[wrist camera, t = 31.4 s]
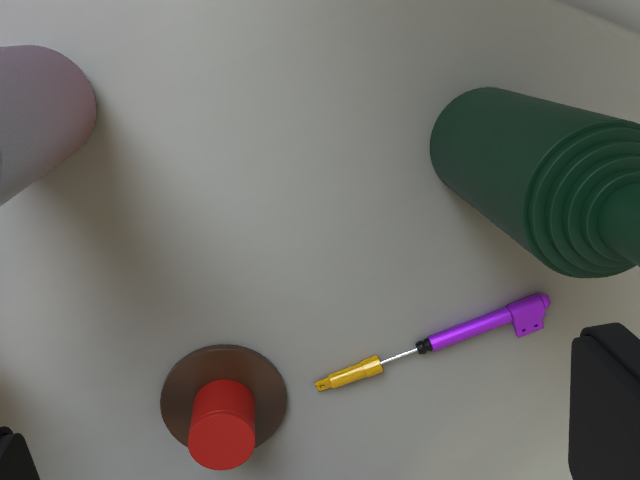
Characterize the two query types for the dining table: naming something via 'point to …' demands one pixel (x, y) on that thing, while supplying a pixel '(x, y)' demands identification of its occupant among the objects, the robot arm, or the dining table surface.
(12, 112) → the beverage can
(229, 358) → the coaster
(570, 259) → the bottle
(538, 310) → the purple tool
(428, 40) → the dining table surface
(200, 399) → the cap
